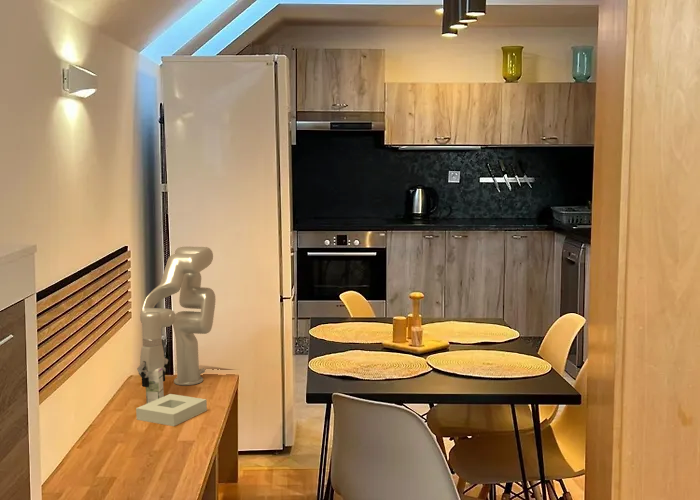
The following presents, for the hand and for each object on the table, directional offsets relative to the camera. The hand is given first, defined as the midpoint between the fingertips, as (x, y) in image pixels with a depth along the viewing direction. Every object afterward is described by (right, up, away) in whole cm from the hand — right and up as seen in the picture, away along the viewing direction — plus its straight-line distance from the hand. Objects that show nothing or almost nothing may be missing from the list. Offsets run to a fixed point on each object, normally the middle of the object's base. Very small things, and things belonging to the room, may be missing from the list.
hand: (153, 383), depth 330 cm
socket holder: (+11, -10, -15) cm, 21 cm away
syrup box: (0, -8, +2) cm, 8 cm away
